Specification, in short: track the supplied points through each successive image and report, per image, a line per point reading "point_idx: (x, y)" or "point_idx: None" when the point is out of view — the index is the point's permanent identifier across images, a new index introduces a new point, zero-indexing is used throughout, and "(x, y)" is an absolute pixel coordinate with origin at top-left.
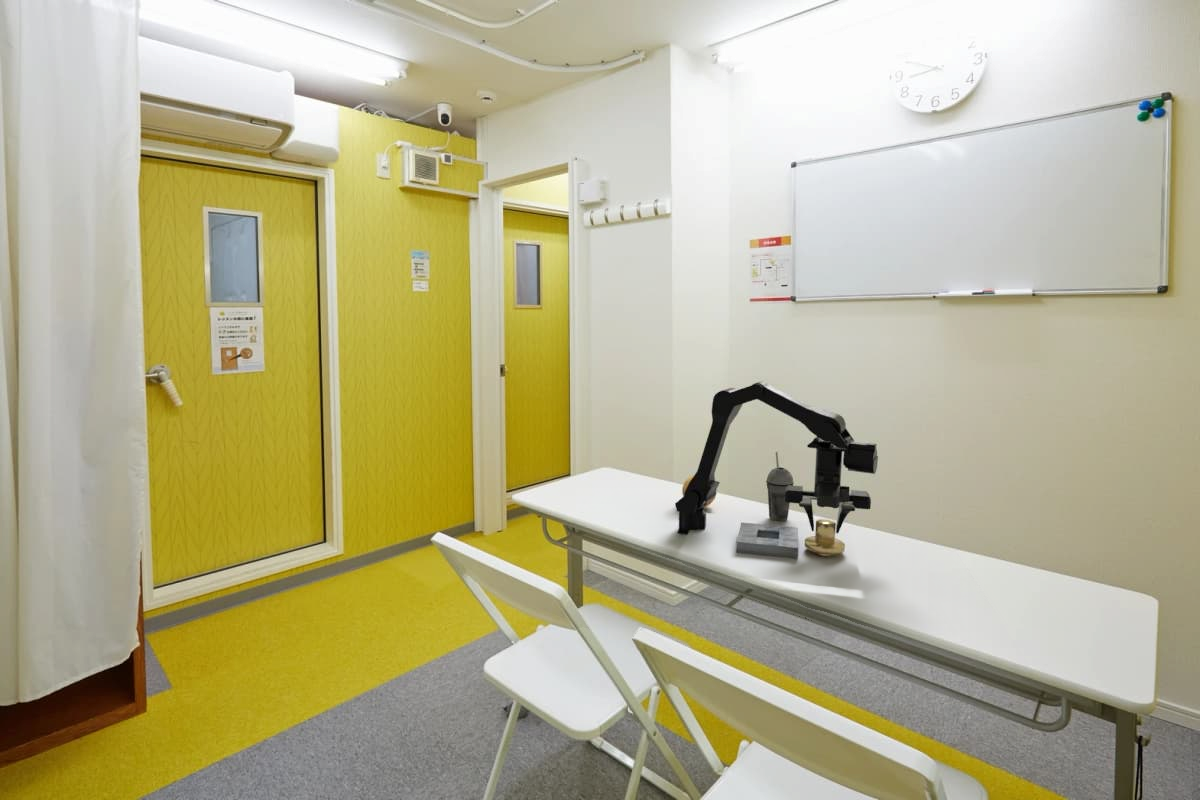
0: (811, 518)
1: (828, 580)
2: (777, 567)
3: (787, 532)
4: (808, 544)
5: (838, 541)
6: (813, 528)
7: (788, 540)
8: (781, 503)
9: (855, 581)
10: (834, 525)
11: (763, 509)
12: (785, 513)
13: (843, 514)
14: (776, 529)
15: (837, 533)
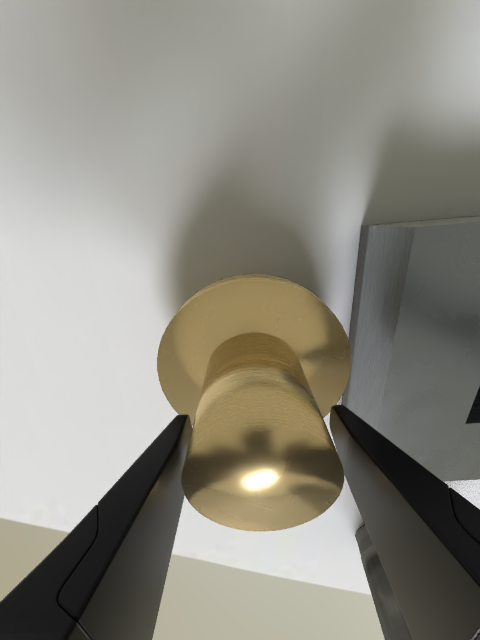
0: (421, 491)
1: (219, 51)
2: (466, 146)
3: (425, 428)
4: (337, 321)
5: (192, 407)
6: (342, 417)
7: (448, 330)
8: None
9: (92, 101)
10: (188, 453)
11: None
12: (383, 574)
13: (17, 631)
14: (471, 445)
15: (181, 415)
